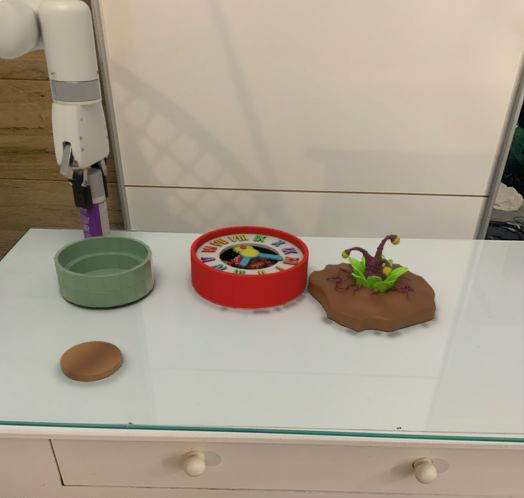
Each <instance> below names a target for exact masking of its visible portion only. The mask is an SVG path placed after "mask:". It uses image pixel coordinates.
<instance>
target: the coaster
mask: <svg viewBox="0 0 524 498" xmlns="http://www.w3.org/2000/svg"><path fill="white" fill-rule="evenodd" d="M122 363H123V356H122V352H121V350H120V348H119V347H118V346H116V345H115V344H114V343H111V342H107V341H101V340H91V341H85V342H80V343H78V344H75V345H73V346H71V347H69V348H68V349H67V350H65V352H63V354H62V355H61V357H60V359H59V365H60V370H61V371H62V373H63V374H64V375H65V376H66V377H67V378H69V379H71V380H74V381H78V382H93V381H99V380H101V379H102V380H103V379H105V378H107V377H110V376H111V375H113V374H115V373H116V372H117V371H118V370H119V369H120V367H121V365H122Z"/></svg>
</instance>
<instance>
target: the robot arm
mask: <svg viewBox="0 0 524 498" xmlns="http://www.w3.org/2000/svg"><path fill="white" fill-rule="evenodd" d="M39 50H44V56H45V62H46V67H47V73H48V78H49V79H48V80H49V85H50V91H51V96H52V97H51V98H52V102H53V103H51V127H52V137H53V145H54V146H53V147H54V153H55V158H56V163H57V165H58V166H59V167H60V168H59V174H60V175H61V176H63V177H64V178H65V179H66V180H67V181H68V183H69V185H70V186H71V189H72V195H73V201H74V206H75V207H76V208H79V209H80V208H87V209H91V208H93V201H92V194H91V187H90V185H88V172H87V168H97V169H100V170H101V172H102V178H103V185H104V191H105V197H106V199H108V198H109V189H108V180H107V173H108V169H107V163H108V157H109V154H110V152H111V151H110V145H109V144H110V143H109V135H108V128H107V122H106V117H105V111H104V108H103V104H102V99H103V98H102V90H101V81H100V75H99V66H98V58H97V50H96V43H95V34H94V25H93V17H92V11H91V9H90V6H89V5H88V3H86V2H85V1H83V0H0V59H2V60H3V59H4V60H14V59H17V58H20V57H22V56H24V55H26V54H28V53H32V52H34V51H39ZM76 164H77V165H76ZM76 170H80V171H81V176H80V175H79V174H78V173H76Z"/></svg>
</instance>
